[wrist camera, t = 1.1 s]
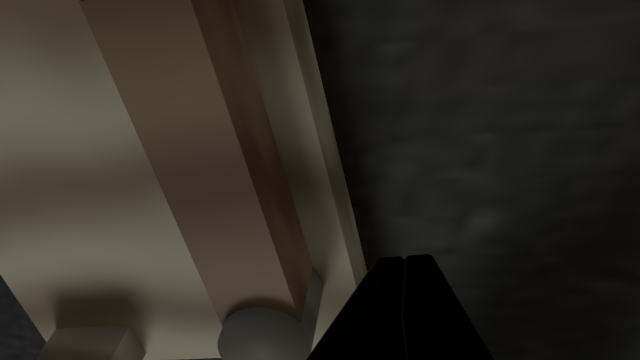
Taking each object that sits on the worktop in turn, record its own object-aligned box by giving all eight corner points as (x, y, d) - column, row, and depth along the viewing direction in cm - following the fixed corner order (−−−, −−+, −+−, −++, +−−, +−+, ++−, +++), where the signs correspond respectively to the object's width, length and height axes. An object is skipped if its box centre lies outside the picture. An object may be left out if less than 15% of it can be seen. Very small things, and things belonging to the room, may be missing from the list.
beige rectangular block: (376, 310, 28) (368, 411, 23) (84, 326, 32) (28, 416, 27) (271, -129, 18) (222, -99, 13) (-135, -28, 22) (-281, 20, 17)
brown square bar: (330, 310, 25) (318, 382, 22) (255, 314, 25) (233, 384, 22) (223, -50, 17) (183, -15, 14) (120, -28, 18) (60, 10, 15)
